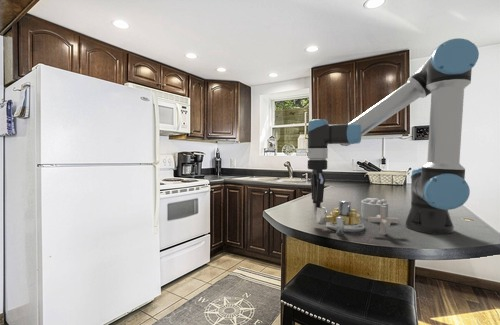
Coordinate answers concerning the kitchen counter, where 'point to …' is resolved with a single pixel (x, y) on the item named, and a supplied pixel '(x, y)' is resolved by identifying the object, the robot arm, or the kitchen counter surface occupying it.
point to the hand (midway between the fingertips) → (316, 218)
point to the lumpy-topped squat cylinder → (372, 207)
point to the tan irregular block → (323, 219)
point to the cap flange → (344, 211)
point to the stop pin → (340, 225)
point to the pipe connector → (383, 220)
